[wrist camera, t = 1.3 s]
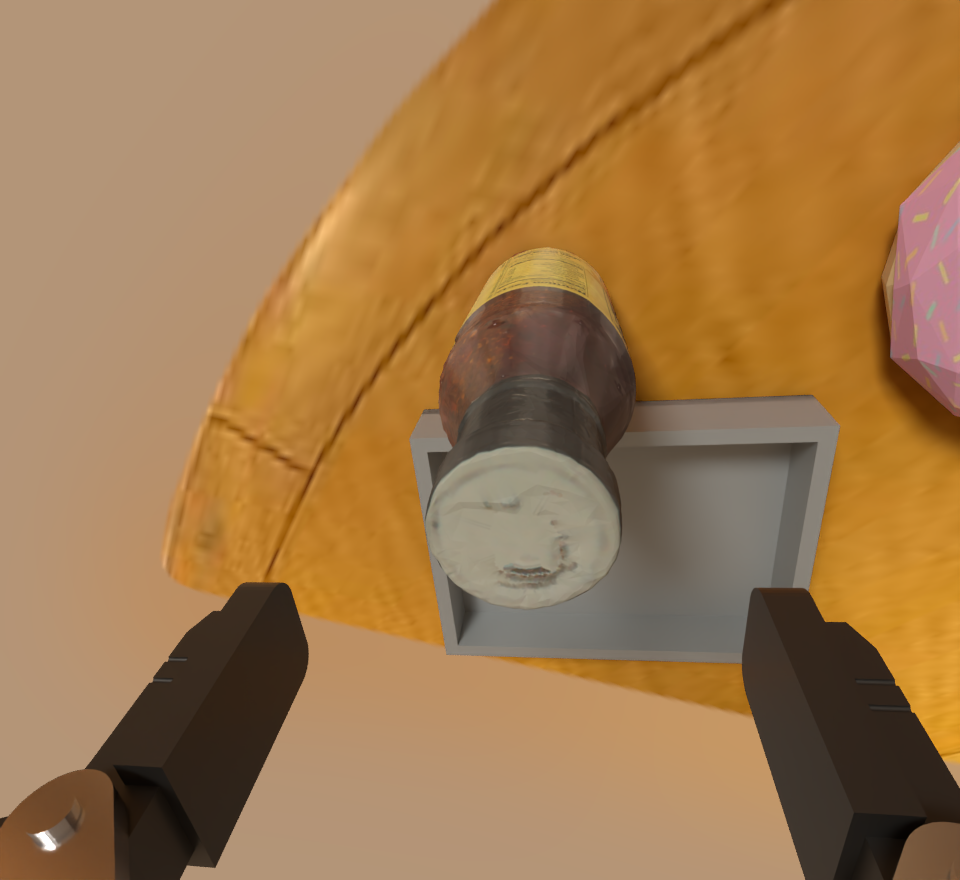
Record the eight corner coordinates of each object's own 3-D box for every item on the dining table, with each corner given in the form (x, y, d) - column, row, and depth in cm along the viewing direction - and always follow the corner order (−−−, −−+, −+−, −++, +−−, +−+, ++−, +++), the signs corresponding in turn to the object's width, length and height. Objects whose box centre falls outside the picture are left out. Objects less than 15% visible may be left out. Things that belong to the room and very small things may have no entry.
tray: (812, 395, 30) (840, 425, 27) (775, 619, 37) (794, 665, 34) (424, 409, 33) (409, 438, 30) (455, 614, 40) (446, 654, 37)
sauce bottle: (573, 383, 31) (580, 707, 14) (463, 335, 31) (329, 608, 13) (635, 267, 28) (745, 495, 11) (515, 212, 28) (425, 357, 10)
